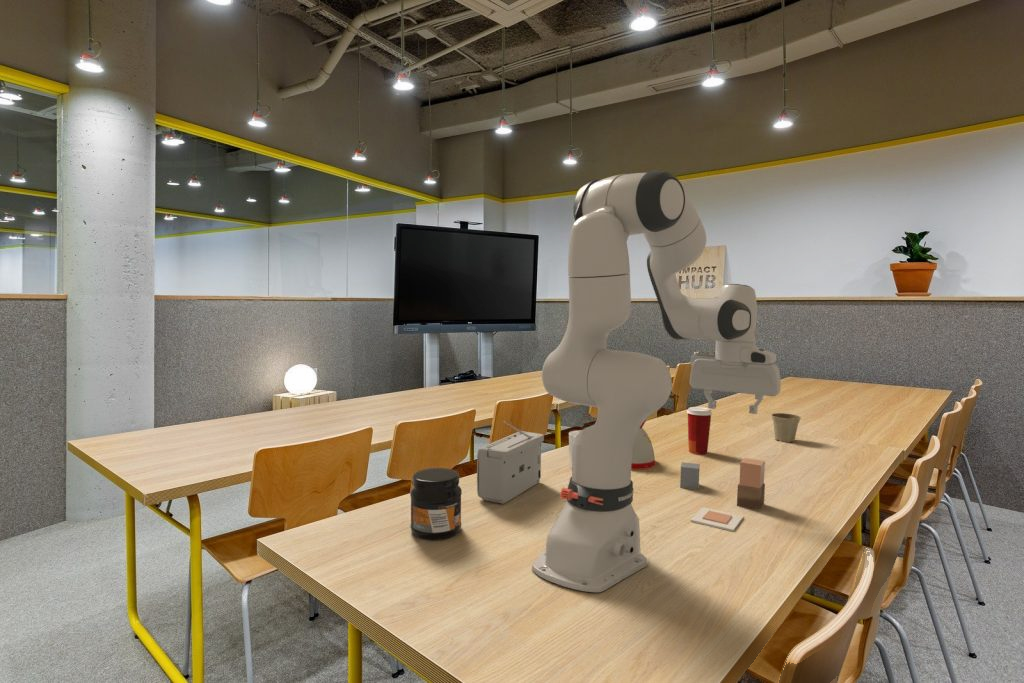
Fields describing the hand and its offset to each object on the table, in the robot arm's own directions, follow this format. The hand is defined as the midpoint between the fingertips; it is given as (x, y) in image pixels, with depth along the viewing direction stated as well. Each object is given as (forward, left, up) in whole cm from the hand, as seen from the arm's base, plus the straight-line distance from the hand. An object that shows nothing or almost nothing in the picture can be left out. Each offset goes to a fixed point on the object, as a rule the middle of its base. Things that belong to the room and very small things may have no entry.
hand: (732, 410), depth 134 cm
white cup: (+2, +41, -22) cm, 47 cm away
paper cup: (+39, +19, -22) cm, 49 cm away
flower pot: (+73, -1, -22) cm, 77 cm away
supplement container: (-55, +45, -22) cm, 74 cm away
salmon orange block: (0, -5, -17) cm, 18 cm away
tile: (-14, -1, -22) cm, 26 cm away
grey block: (+5, +11, -22) cm, 25 cm away
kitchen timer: (+16, +32, -22) cm, 42 cm away
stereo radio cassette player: (-26, +46, -22) cm, 57 cm away
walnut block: (0, -5, -22) cm, 23 cm away
